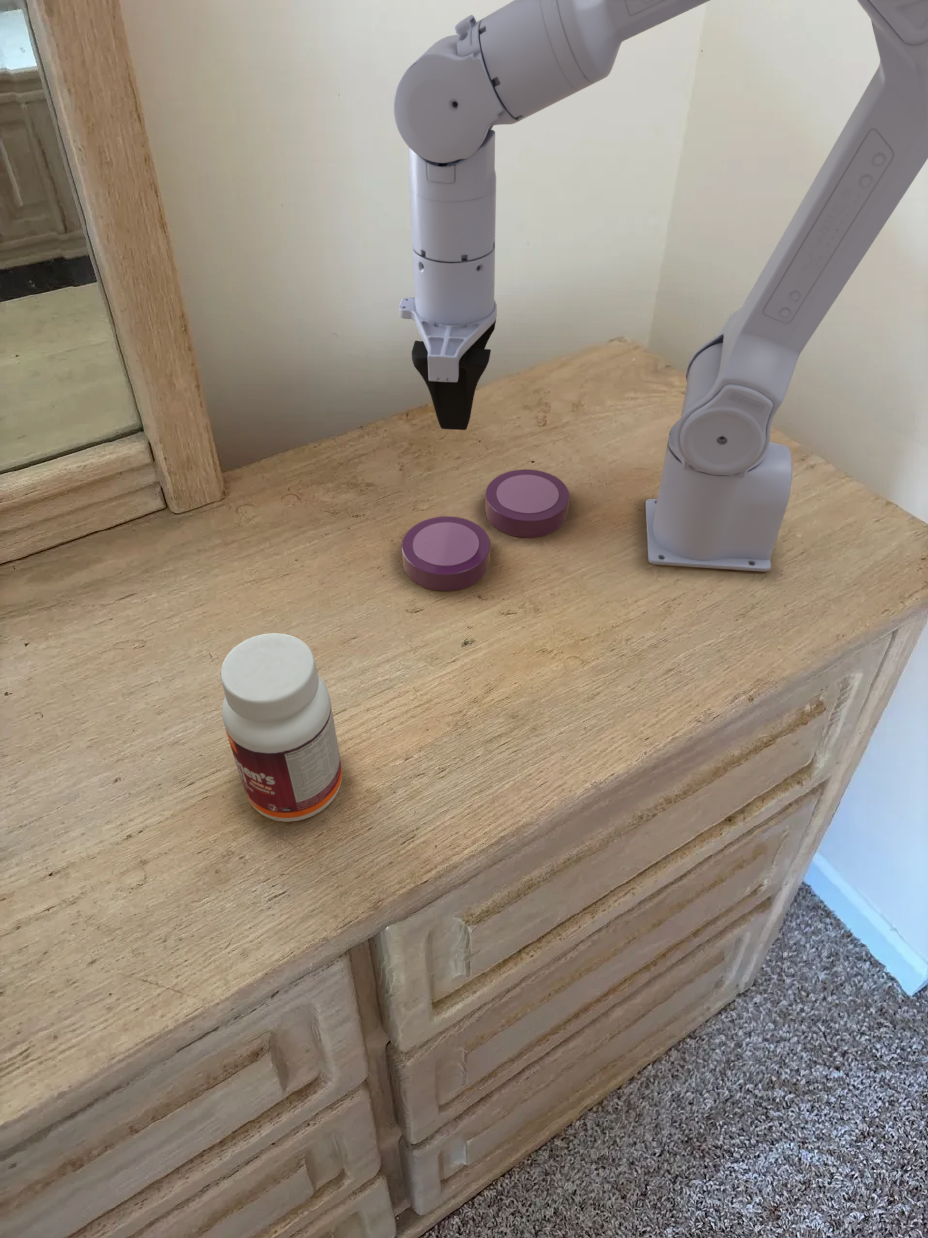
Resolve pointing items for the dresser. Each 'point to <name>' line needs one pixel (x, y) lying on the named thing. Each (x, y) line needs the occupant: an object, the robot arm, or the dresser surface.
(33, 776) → the dresser surface
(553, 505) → the purple round puck
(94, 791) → the dresser surface
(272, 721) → the pill bottle
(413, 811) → the dresser surface
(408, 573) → the purple disc
